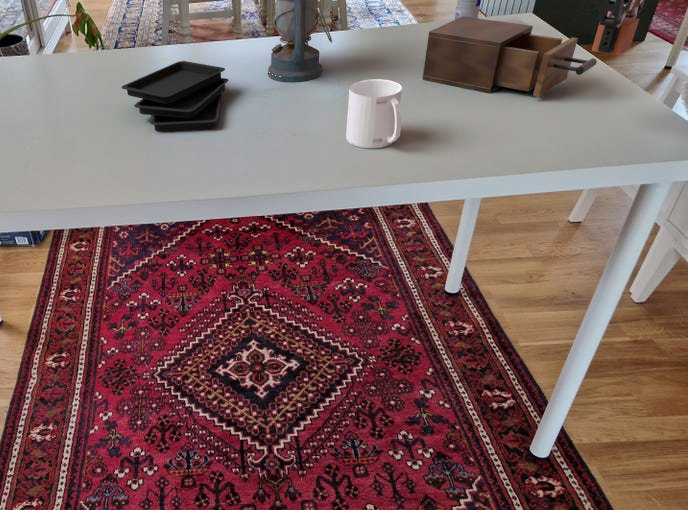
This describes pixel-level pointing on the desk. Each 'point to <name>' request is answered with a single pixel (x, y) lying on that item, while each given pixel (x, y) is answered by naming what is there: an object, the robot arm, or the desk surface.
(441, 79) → the cabinet
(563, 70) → the drawer
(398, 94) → the mug
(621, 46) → the block
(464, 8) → the beverage can
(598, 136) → the desk surface
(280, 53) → the lantern
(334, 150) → the desk surface
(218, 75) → the tray
